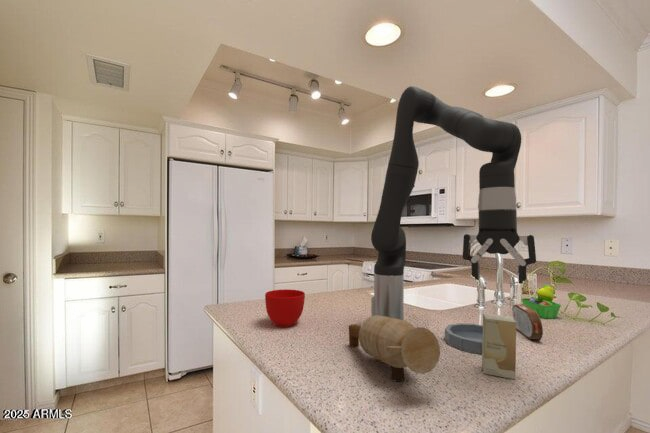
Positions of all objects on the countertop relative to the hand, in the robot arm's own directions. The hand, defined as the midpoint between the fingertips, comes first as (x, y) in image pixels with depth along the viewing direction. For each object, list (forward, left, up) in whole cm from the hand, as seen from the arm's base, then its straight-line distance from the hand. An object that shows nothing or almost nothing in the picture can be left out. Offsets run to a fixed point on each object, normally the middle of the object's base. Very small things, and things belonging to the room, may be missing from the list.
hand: (498, 281), depth 69 cm
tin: (+4, +34, -20) cm, 40 cm away
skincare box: (0, 0, -20) cm, 20 cm away
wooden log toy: (-21, -13, -20) cm, 32 cm away
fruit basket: (+8, +64, -20) cm, 68 cm away
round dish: (-7, +17, -20) cm, 27 cm away
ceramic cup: (-63, -1, -20) cm, 66 cm away
